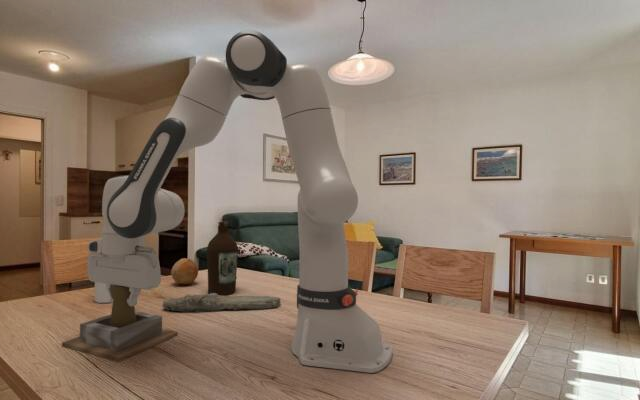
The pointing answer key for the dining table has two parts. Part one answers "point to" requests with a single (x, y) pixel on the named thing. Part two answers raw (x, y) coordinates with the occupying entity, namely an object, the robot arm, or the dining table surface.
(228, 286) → the olive oil
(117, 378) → the dining table surface
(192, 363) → the dining table surface
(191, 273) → the onion
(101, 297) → the milk bottle
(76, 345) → the socket block
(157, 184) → the robot arm
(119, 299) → the cork
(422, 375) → the dining table surface
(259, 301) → the long grey stone
